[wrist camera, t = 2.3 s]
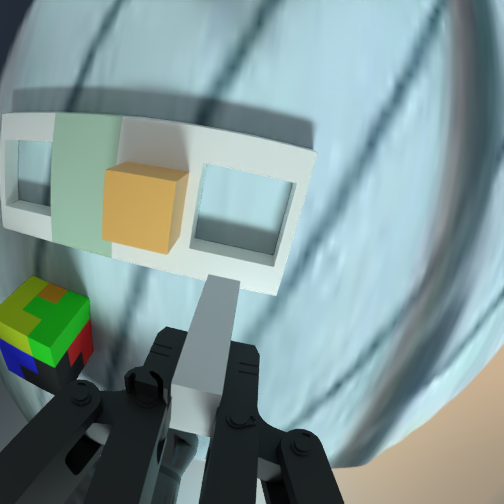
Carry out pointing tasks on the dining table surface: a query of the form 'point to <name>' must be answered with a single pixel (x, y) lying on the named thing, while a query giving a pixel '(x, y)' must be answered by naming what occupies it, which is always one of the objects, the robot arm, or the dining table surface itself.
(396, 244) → the dining table surface
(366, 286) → the dining table surface
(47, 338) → the puzzle toy
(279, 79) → the dining table surface
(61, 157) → the plate
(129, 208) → the orange block
